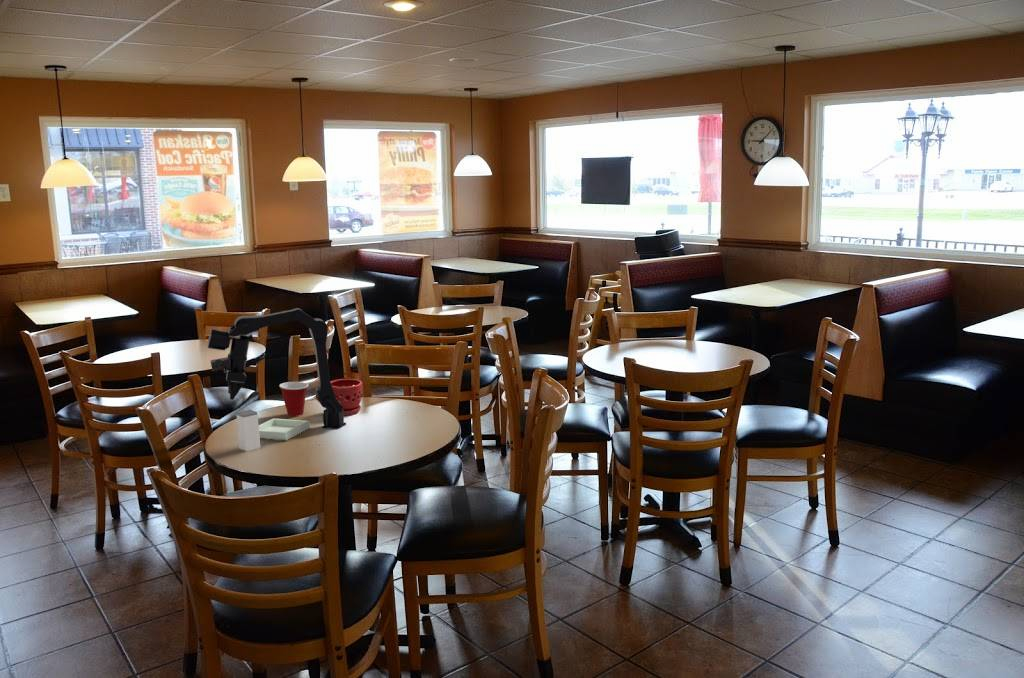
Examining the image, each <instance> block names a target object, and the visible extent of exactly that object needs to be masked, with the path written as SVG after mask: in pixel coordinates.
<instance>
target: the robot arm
mask: <svg viewBox="0 0 1024 678" xmlns="http://www.w3.org/2000/svg"><path fill="white" fill-rule="evenodd" d="M296 321H297V322H299V323H301V324H302V325H304V326H305V327H307V328H308V330H309V334H310V337H311V339H312V342H313V344H314V353H315V360H316V368H317V376H318V386H316V387H315V386H314V391H315V399H316V401H317V403H319V404H320V406H321V407H322V408H324V409H323V414H322V423H323V425H322V427H321V428H322V429H336V430H337V429H340V428H342V427H344V426H345V425H347V422H345V421H344V420H345V419H344V415H343V409H342V408H343V406H342V404H341V403H340V402H339V401H338V400H337V399H336V397H335V394H334V390H333V388H332V385H331V376H330V375H331V374H330V367H329V361H328V360H329V359H328V352H327V351H328V350H327V340H328V332H329V330H328V328H329V327H328V325H327V323H326V322H325V321H324V320H323V319H321V318H317V317H315V318H314V317H313V316H311V315H309V314H307V313H306V312H305V311H303V310H302V309H301V308H300V307H299V308H298V307H296V308H292V309H290V310H283V311H278V312H273V313H268V314H263V315H241V316H238V317H236V319H235V321H234V323H233V325H232V326H231V327H230V328H228V329H227V330H222V329H221V330H220V329H217V328H211V329H210V334H209V336H208V342H207V349H212V350H218V351H223V352H224V351H226V349H229V348H230V349H229V353H227V357H221V358H215V359H211V360H209V362H210V365H211V372H218V371H221V370H223V372H224V375H225V376H226V377H225V380H226V382H227V390H228V391H227V392H228V394H229V399H230V400H231V401H233V400H234V399H235V398H236V397H237V395H238V393H239V392H240V390H241V389H242V387H244V385H245V384H246V383H247V375H246V373H245V372H246V369H245V368H246V363H247V361H248V357H247V356H248V351H249V345H250V343H256V339H255V338H254V337H253V334H252V333H254V332H256V331H258V330H260V329H263V328H265V327H270V326H275V325H281V324H285V323H289V322H290V323H291V322H296ZM230 344H231V345H230Z"/></svg>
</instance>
